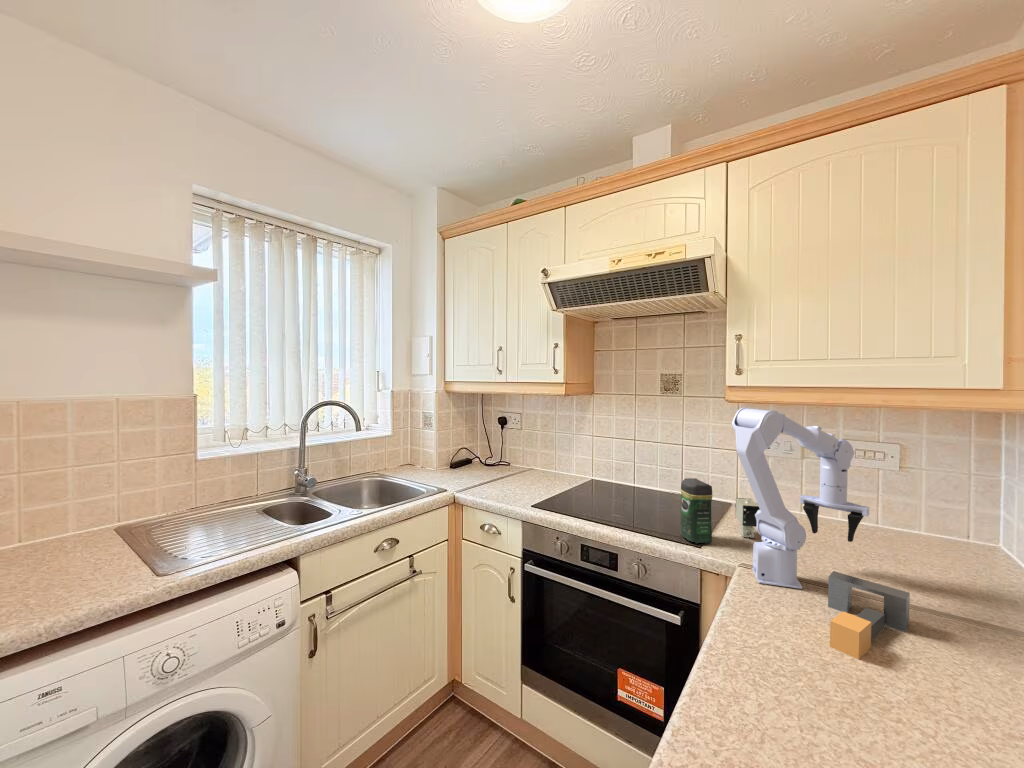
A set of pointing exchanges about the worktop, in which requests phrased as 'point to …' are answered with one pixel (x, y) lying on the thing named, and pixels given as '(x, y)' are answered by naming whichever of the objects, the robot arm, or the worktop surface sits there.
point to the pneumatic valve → (746, 516)
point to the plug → (855, 631)
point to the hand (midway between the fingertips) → (832, 536)
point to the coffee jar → (696, 511)
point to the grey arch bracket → (893, 598)
